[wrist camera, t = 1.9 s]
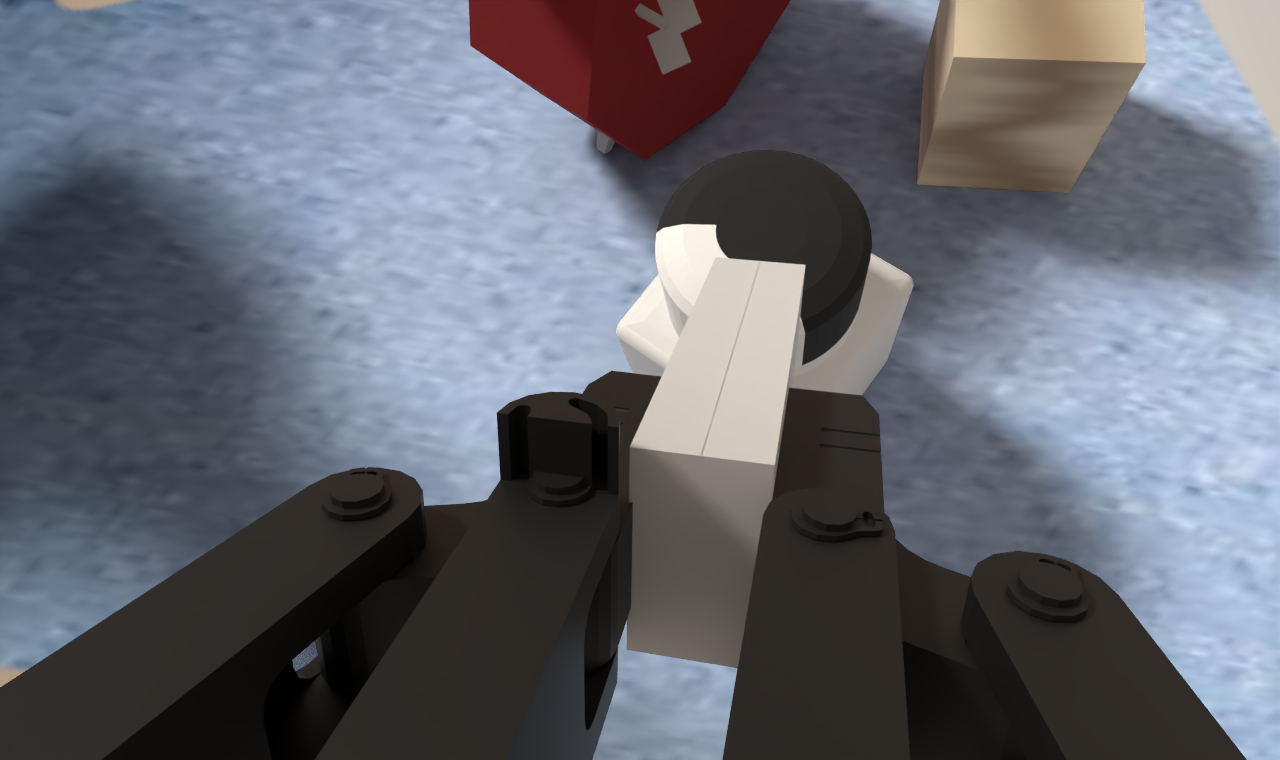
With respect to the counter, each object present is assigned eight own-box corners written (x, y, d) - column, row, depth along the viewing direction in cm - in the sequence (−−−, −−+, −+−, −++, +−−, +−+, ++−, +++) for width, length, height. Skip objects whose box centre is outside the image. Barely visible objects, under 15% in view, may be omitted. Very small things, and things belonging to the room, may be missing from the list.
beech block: (916, 184, 38) (953, 56, 30) (924, 66, 40) (959, -81, 32) (1068, 193, 37) (1145, 62, 29) (1068, 71, 38) (1140, -81, 31)
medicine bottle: (743, 265, 37) (732, 79, 26) (891, 356, 35) (948, 196, 24) (639, 397, 36) (580, 260, 25) (786, 501, 34) (795, 402, 23)
